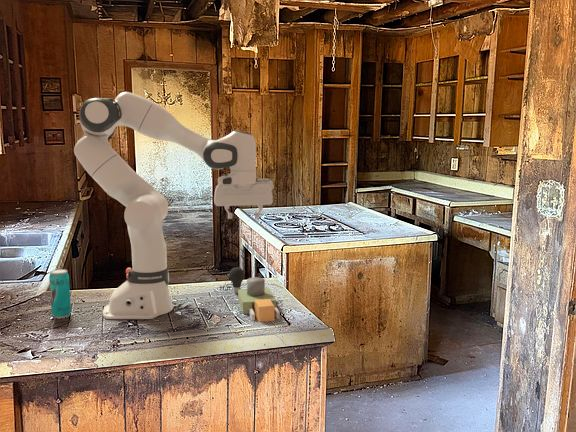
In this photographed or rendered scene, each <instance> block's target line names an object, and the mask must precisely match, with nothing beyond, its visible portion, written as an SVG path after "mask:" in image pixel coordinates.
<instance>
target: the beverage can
mask: <svg viewBox="0 0 576 432" xmlns="http://www.w3.org/2000/svg"><path fill="white" fill-rule="evenodd" d="M48 279H49V293H50V306H51V307H50V308H51V315H52V316H53V318H54V319H56V318H57V319H58V320H59V319H60V320H61V318H62V319H66V318H68V317H70V315H71V312H72V307H71V306H72V305H71V304H72V303H71V290H70V276H69V272H68V270H67V269H65V268H64V269H62V268H61V269H60V268H57V269H54V270H51V271H49V277H48ZM65 317H66V318H65ZM57 319H56V320H57Z"/></svg>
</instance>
